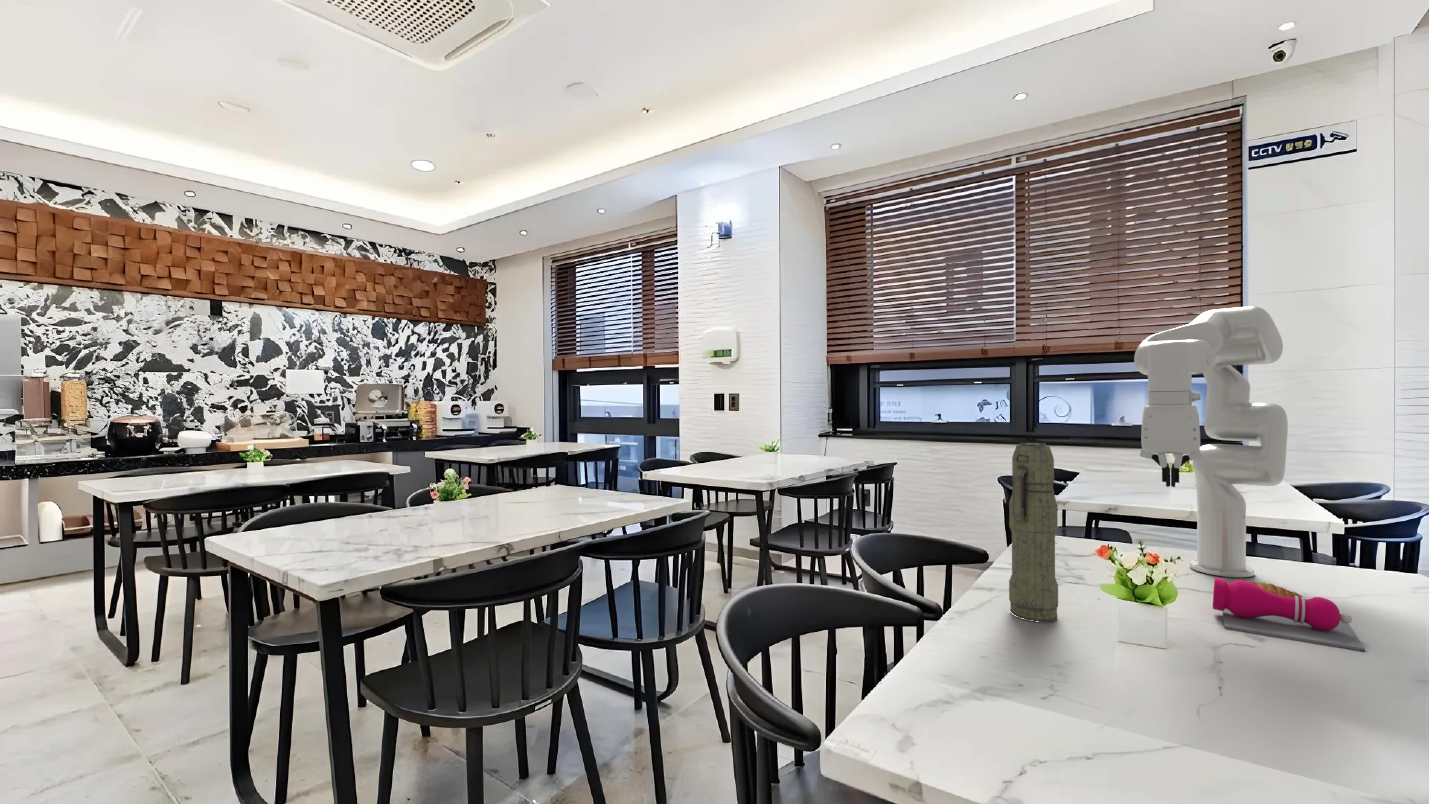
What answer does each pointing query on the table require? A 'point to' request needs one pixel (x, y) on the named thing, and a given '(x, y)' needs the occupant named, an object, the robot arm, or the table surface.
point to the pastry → (1276, 590)
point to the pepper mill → (1275, 605)
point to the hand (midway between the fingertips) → (1170, 485)
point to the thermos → (1033, 534)
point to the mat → (1294, 630)
